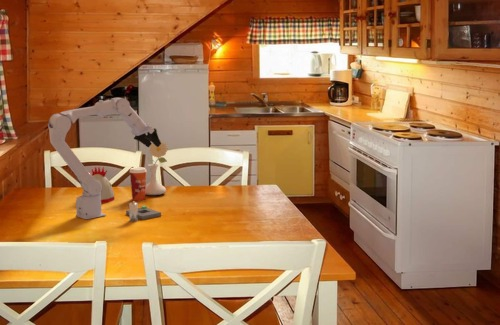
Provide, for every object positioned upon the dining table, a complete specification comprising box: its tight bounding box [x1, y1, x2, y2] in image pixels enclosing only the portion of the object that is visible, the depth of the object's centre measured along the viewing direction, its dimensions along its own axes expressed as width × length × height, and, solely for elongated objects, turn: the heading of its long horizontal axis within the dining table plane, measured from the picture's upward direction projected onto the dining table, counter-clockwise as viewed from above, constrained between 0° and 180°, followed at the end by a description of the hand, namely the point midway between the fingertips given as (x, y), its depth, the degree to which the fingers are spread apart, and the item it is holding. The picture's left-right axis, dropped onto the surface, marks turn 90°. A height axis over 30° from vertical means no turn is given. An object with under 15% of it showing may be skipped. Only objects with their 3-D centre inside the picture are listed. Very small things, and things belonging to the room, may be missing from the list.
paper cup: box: [128, 166, 148, 202], centre depth 309 cm, size 8×8×14 cm
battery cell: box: [128, 201, 139, 223], centre depth 274 cm, size 3×3×8 cm
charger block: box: [125, 205, 162, 221], centre depth 283 cm, size 9×12×2 cm
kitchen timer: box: [88, 166, 115, 204], centre depth 308 cm, size 14×14×15 cm
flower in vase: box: [145, 141, 168, 196], centre depth 318 cm, size 13×11×25 cm
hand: (154, 145), depth 290 cm, fingers open, 7 cm apart
